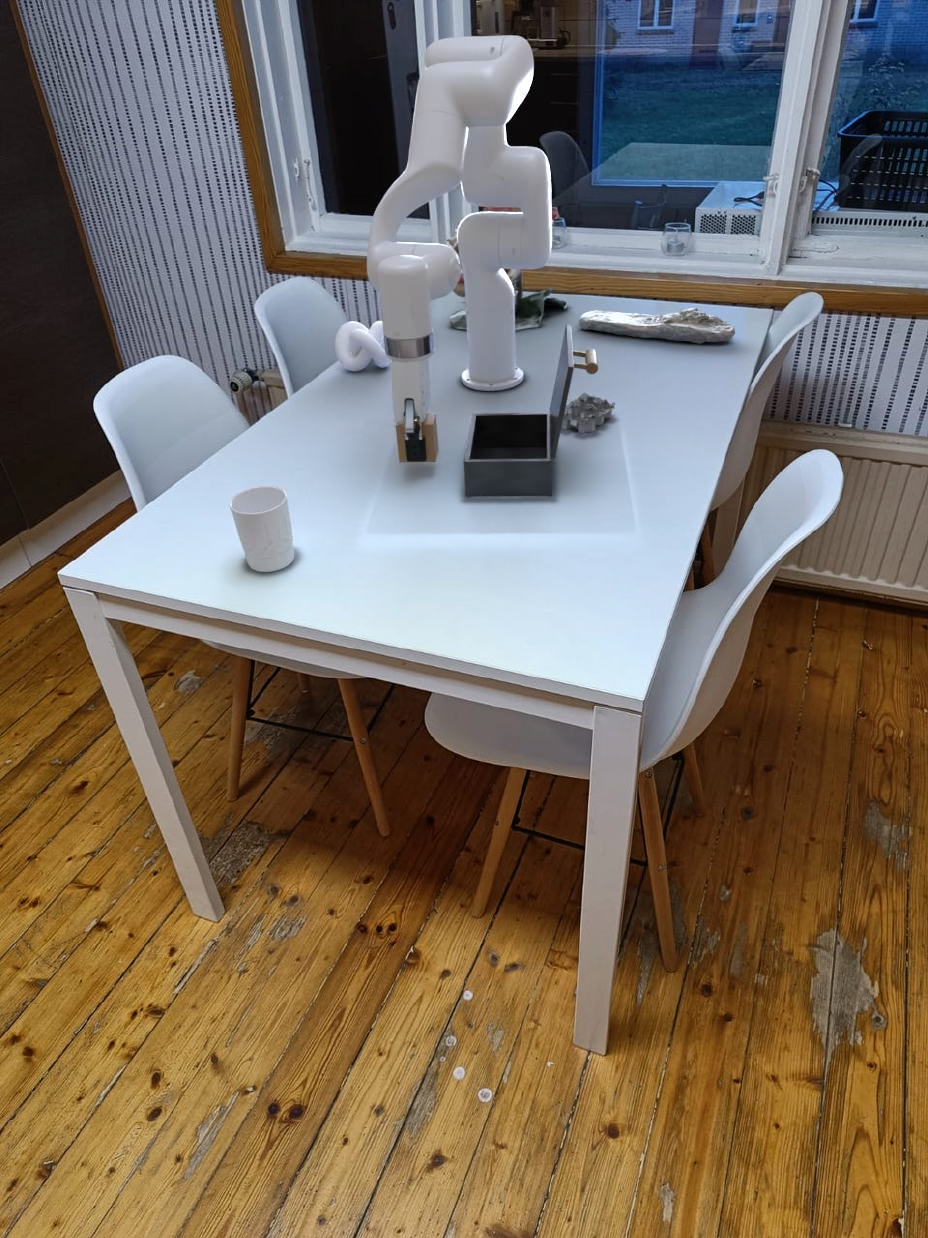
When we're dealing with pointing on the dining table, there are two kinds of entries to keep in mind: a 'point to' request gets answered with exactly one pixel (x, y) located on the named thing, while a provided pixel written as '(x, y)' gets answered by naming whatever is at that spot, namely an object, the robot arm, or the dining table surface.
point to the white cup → (264, 527)
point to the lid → (566, 384)
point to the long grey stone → (661, 325)
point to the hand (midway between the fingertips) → (418, 452)
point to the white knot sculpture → (360, 345)
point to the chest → (508, 455)
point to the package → (428, 433)
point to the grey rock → (586, 413)
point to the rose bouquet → (525, 306)
